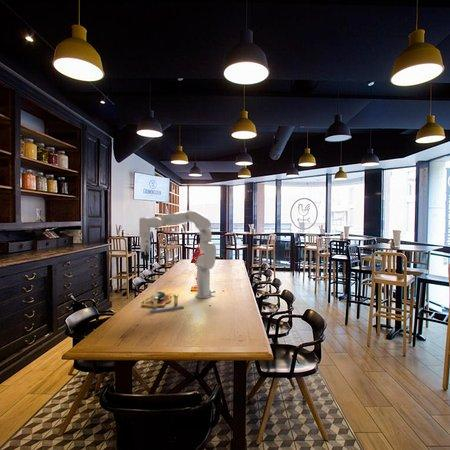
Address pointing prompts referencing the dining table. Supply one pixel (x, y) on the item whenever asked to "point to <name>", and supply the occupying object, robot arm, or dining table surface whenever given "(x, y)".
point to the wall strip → (166, 309)
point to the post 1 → (155, 302)
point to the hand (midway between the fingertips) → (144, 259)
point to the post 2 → (175, 300)
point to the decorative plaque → (161, 300)
